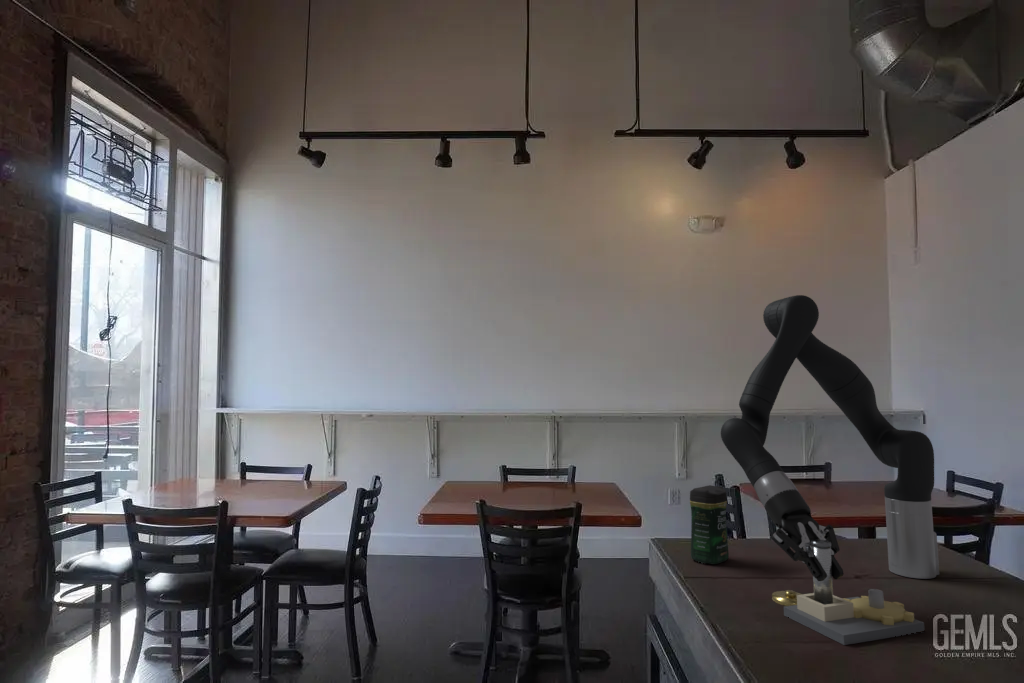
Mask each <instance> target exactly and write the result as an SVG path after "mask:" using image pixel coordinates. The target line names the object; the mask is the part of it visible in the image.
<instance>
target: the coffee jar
mask: <svg viewBox="0 0 1024 683" xmlns="http://www.w3.org/2000/svg"><path fill="white" fill-rule="evenodd" d="M727 499H728V496H727V491H726V489H724V487H722V486H716V485H705V486H700V487H694V488H693V489H692V490H690V491H689V504H690V513H691V535H690V536H691V537H690V558H691V560H694V561H696V562H697V561H698V563H699V562H701V563H700V564H703V563H705V564H712V565H717V564H720V563H724V562H726V561H727V560H728V559H729V555H730V554H729V540H728V531H727V529H728V528H727V504H728V500H727Z"/></svg>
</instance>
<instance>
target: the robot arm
mask: <svg viewBox="0 0 1024 683" xmlns="http://www.w3.org/2000/svg"><path fill="white" fill-rule="evenodd" d="M819 315H820V312H819V307H818V305H817V303H816V301H815V300H814V299H813V298H811V297H809V296H807V295H804V294H803V295H802V294H797V295H792V296H788V297H784V298H780V299H777V300H774V301H772V302H770V303H768V304H767V306H766V307H765V308H764V309H763V314H762V317H763V323H764V325H765V327H766V329H767V330H768V331H769V333H770V334H771V335H772V336H773V337H774V338H775V340H774V342H773V344H772V345H771V347H770V348H769V350H768V352H766V354H765V355H764V357H763V358H762V359H761V360H760V361H759V362H758V364H757V366H755V367H754V369H753V371H752V372H751V374H750V376H749V377H748V380H747V382H746V384H745V386H744V389H743V391H742V394H741V397H740V399H739V402H738V407H739V409H740V411H741V418H740V417H739V418H738V417H734V418H733V417H731V418H729V419H727V420H726V421H725V422H723V424H722V425H721V429H720V438H721V440H722V443H723V445H724V446H725V448H726V449H727V450H728V451H729V453H730V455H731V456H732V457H733V458H734V460H735V461H736V462H737V463H738V465H739V466H740V467H741V469H742V470H743V471H744V474H745V476H746V477H747V479H748V481H749V482H750V483H751V486H752V487H753V489H754V491H755V493H756V496H757V497H758V500H759V501H760V503H761V505H763V506H762V507H763V508H764V509H765V511H766V512H767V515H768V516H769V517H770V519H771V521H772V524H774V525H775V527H777V529H776V531H775V532H774V533H772V535H771V540H773V542H774V543H775V544H776V545H778V547H779V548H781V550H783V552H784V553H785V554H786V555H787V556H789V557H790V558H791V559H792V560H793V562H798V561H799V562H802V563H803V564H805V565H806V567H807V568H808V571H810V573H811V575H812V577H813V576H814V577H815V578H816V579H817V580H818V581H823V580H824V579H825V578H826V577H827V574H826V572H825V570H824V569H823V567H822V566H821V564H820V563H819V561H818V559H817V558H816V557H814V554H813V551H812V546H811V540H814V539H819V540H826V541H830V542H831V562H832V579H833V580H840V579H841V578H842V577H843V576H844V569H843V568H842V567H841V564H840V563H839V562H838V560H837V558H836V557H835V555H836V554H837V553H839V552H840V546H839V543H838V542H839V541H838V538H837V535H836V532H835V529H834V528H835V527H834V526H833V525H832V524H828V525H826V526H823V525H821V524H819V523H818V521H817V520H816V519H814V518H813V516H812V512H811V510H812V509H811V508H810V506H809V504H807V502H806V500H805V498H804V497H803V495H802V494H801V493H800V491H799V490H798V488H797V487H796V486H795V483H794V482H793V481H792V479H790V478H789V476H788V475H787V474H786V472H785V471H784V470H783V468H782V467H781V466H780V463H779V462H778V461H777V459H776V458H775V457H774V456H773V455H772V454H771V452H769V451H768V450H767V449H766V448H765V447H764V445H765V443H766V439H767V437H768V436H767V435H768V431H769V430H768V429H769V423H770V416H771V412H772V410H773V407H774V405H775V402H776V401H777V400H776V399H777V398H778V395H779V393H780V390H781V388H782V385H783V382H785V379H786V377H787V376H788V373H789V371H790V369H791V367H792V366H793V365H794V362H795V361H796V359H797V360H798V362H799V363H800V364H801V365H802V366H803V367H804V368H805V370H806V371H807V372H808V373H809V374H810V376H811V377H812V378H813V379H814V380H815V381H816V382H817V383H818V385H819V386H820V388H821V389H822V390H823V391H824V393H825V394H826V395H827V396H828V397H829V398H830V399H831V401H832V402H833V403H834V404H835V405H836V406H837V407H838V408H839V409H840V410H841V411H842V413H843V414H844V415H845V416H846V418H847V419H848V420H849V421H850V422H851V423H852V425H853V426H854V427H855V428H856V429H857V431H858V433H859V434H860V435H861V437H862V438H863V439H864V441H865V443H866V444H867V446H868V447H869V449H870V450H871V452H872V453H873V454H874V456H875V457H876V459H878V460H879V462H881V463H882V464H884V465H886V466H888V467H891V468H896V469H897V477H896V479H895V480H894V481H892V482H889V483H887V484H884V488H883V489H884V490H883V491H884V504H885V505H884V507H885V508H884V509H885V521H886V522H885V523H886V524H885V525H886V539H887V540H886V541H887V542H886V543H887V557H888V558H887V559H888V570H889V571H890V572H891V573H892V574H895V575H898V576H902V577H906V578H912V579H923V580H924V579H925V580H927V579H934V578H936V577H937V576H939V575H940V565H939V564H940V563H939V548H938V537H937V533H936V531H934V519H933V506H932V505H933V502H932V493H933V489H934V488H935V487H934V486H935V450H934V447H933V443H932V441H931V439H930V438H929V437H928V436H927V435H926V434H925V433H923V432H921V431H916V430H911V429H910V430H909V429H898V428H896V427H894V426H893V425H892V424H891V423H890V422H889V421H888V420H887V419H886V418H885V416H884V415H883V414H882V412H881V411H880V410H879V408H878V405H877V399H876V392H875V388H874V386H873V384H872V382H871V381H870V379H869V378H868V377H867V375H866V374H865V373H864V371H862V370H861V368H860V367H859V366H858V365H857V364H856V363H855V362H854V361H853V360H852V359H850V358H849V357H847V356H846V355H844V354H842V353H841V352H839V351H838V350H836V349H834V348H833V347H830V346H829V345H828V344H826V343H824V342H822V341H821V340H820V339H819V338H818V337H817V336H815V335H814V334H813V331H814V330H815V328H816V326H817V324H818V321H819V317H820V316H819ZM791 548H792V549H791Z"/></svg>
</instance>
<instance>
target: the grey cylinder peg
mask: <svg viewBox="0 0 1024 683" xmlns="http://www.w3.org/2000/svg"><path fill="white" fill-rule="evenodd" d="M811 546H812V551H813V554H814V557H816V558H817V559H818V561H819V563H820V564H821V566H822V567H823V569H824V570H825V572H826V574H827V577H826V578H825V579H824V580H823V581H818V580H817V579H816V578H815V577H814V576H813V575H812V584H813V585H812V586H813V588H812V589H813V593H814V600H815V601H817V602H819V603H821V604H824V605H826V604H833V595H834V589H833V588H834V587H833V586H834V585H833V577H832V562H831V542H830V541H826V540H819V539H814V540H811Z"/></svg>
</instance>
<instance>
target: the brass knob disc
mask: <svg viewBox="0 0 1024 683" xmlns="http://www.w3.org/2000/svg"><path fill="white" fill-rule="evenodd" d="M802 594H803V593H800V592H798V591H797V592H796V591H795V590H791V589H786V590H777V591H774V592H772V594H771V597H772V598H771V600H772V601H773V602H774V603H776V604H778V605H781V606H783V607H785V606H792V605H797V595H802Z"/></svg>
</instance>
